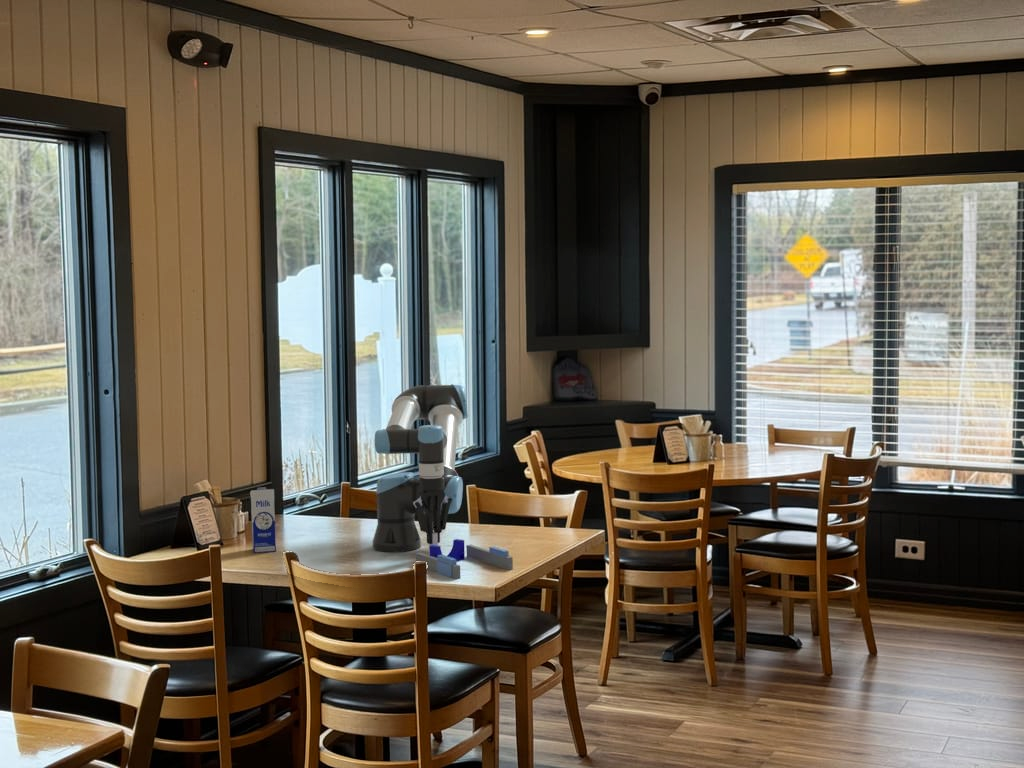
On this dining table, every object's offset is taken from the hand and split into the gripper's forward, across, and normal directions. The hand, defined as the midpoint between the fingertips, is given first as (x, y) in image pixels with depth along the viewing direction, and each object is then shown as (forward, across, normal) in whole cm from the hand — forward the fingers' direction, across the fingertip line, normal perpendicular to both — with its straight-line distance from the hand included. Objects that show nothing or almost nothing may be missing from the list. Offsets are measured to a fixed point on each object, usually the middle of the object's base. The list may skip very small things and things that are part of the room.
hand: (433, 553), depth 362 cm
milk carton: (+1, -37, +43) cm, 57 cm away
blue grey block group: (+1, 0, -18) cm, 18 cm away
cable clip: (+1, 0, -10) cm, 10 cm away
